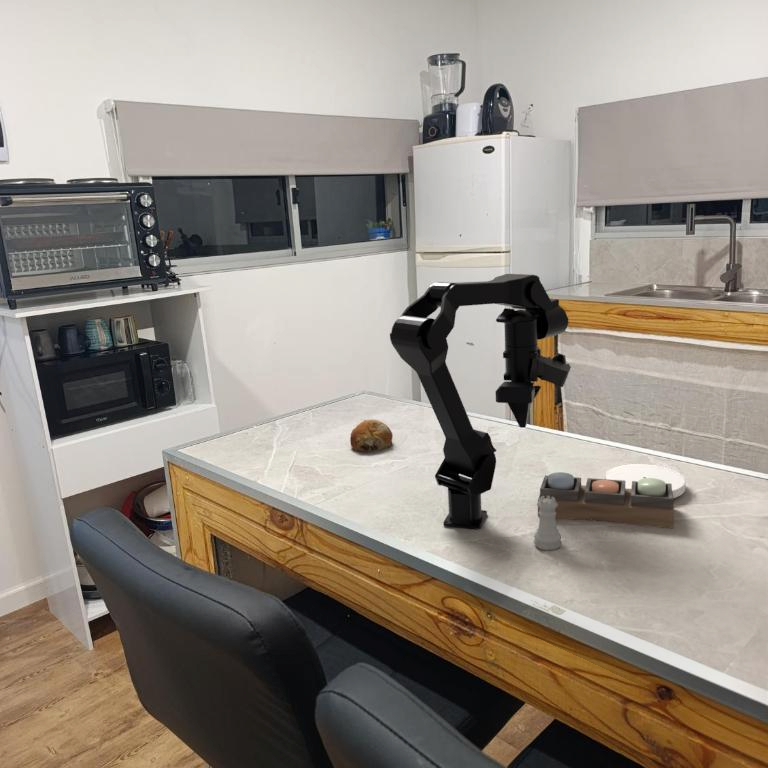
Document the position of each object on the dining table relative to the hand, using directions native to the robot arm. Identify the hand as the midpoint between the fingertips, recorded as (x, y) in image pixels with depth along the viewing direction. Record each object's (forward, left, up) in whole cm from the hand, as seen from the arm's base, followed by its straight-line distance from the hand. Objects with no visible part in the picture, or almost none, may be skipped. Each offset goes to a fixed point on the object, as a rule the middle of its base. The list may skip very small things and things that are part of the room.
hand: (522, 426), depth 131 cm
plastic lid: (+5, -21, -14) cm, 26 cm away
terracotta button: (-6, -15, -10) cm, 19 cm away
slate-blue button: (-6, -8, -9) cm, 13 cm away
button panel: (-6, -15, -13) cm, 21 cm away
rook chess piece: (-20, -7, -13) cm, 25 cm away
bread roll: (+20, +39, -13) cm, 46 cm away
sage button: (-6, -22, -9) cm, 25 cm away
